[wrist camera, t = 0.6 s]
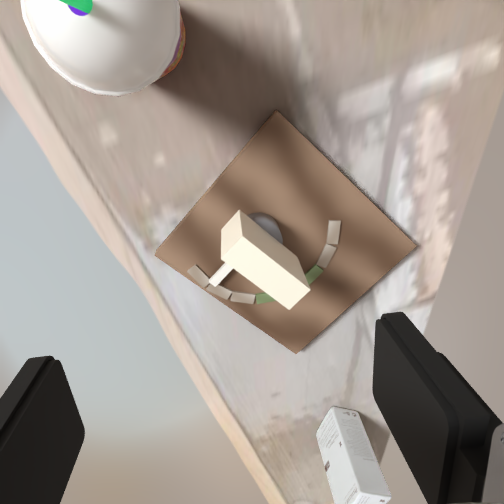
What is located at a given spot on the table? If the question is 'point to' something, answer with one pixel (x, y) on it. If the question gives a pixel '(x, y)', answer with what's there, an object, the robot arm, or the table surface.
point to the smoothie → (107, 41)
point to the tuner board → (289, 233)
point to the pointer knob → (261, 258)
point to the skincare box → (350, 460)
